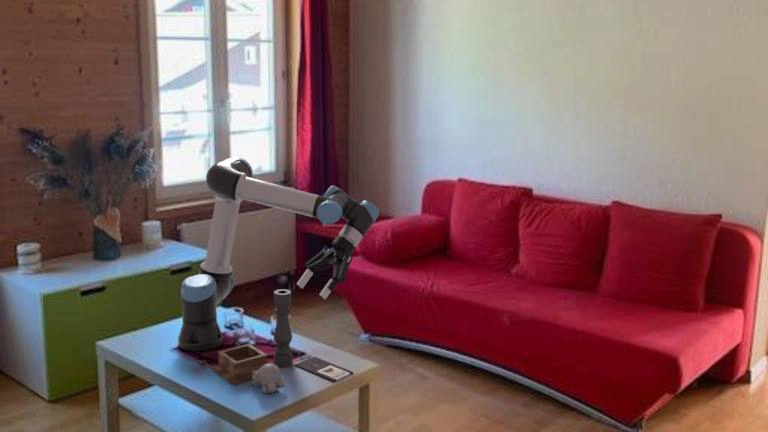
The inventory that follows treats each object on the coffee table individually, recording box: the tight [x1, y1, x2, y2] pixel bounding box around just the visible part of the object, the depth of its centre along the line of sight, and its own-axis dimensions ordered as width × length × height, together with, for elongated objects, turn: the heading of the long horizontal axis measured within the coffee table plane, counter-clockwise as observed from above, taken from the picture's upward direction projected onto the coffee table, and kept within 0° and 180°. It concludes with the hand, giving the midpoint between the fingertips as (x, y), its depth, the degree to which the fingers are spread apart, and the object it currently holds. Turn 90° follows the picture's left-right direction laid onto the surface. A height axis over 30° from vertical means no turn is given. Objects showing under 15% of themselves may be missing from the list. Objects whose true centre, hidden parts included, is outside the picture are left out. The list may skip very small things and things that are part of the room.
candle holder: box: [273, 288, 293, 368], centre depth 254 cm, size 6×6×25 cm
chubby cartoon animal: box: [251, 362, 286, 394], centre depth 238 cm, size 7×12×8 cm, turn 48°
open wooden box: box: [212, 343, 268, 386], centre depth 249 cm, size 14×14×6 cm
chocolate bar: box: [294, 356, 354, 383], centre depth 253 cm, size 9×1×18 cm
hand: (310, 291), depth 258 cm, fingers open, 13 cm apart
